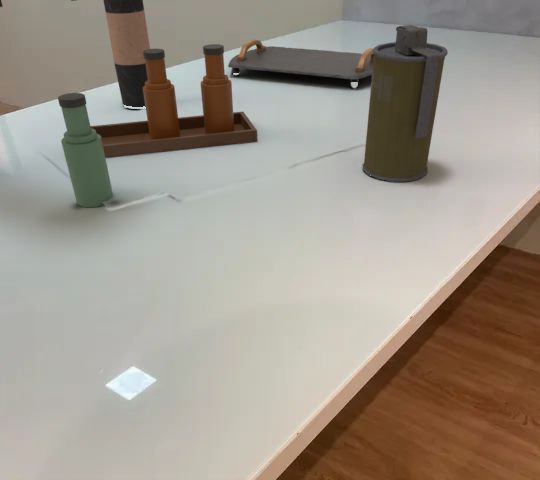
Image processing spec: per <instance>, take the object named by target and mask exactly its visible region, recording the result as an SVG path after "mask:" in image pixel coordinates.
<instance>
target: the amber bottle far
mask: <svg viewBox="0 0 540 480" xmlns="http://www.w3.org/2000/svg"><path fill="white" fill-rule="evenodd" d="M202 53H203V55H204V65H205V75H203V77H202V80H201V81H200V92H201V94H200V95H201V103H202V115H203V116H204V127H205V134H211V133H221V132H231V131H234V117H233V112H234V102H233V86H232V85H233V84H232V80H231V79H229V75H227V74H225V59H224V53H225V46H224V45H223V44H219V43H212V44H205V45H203V46H202Z"/></svg>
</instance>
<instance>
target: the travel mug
mask: <svg viewBox="0 0 540 480" xmlns="http://www.w3.org/2000/svg"><path fill="white" fill-rule="evenodd" d="M102 1H103V6H104V11H105V18H106V23H107V30H108V35H109V40H110V41H109V42H110V47H111V52H112V53H111V54H112V59H113V63H114V64H113V65H114V68H115V73H116V79H117V83H118V87H119V92H120V97H121V98H120V99H121V102H122V105H123V104H124V105H126V106H132V107H143V106H145V100H144V94H143V87H144V86H145V82H146V81H148V77H147V70H146V63H145V59H144V56H143V51H144V50H147V49H151V47H150V39H149V33H148V32H149V31H148V27H147V26H148V25H147V20H146V13H145V6H144V0H102Z"/></svg>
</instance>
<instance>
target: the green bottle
mask: <svg viewBox="0 0 540 480" xmlns="http://www.w3.org/2000/svg"><path fill="white" fill-rule="evenodd" d="M57 100H58V104H59V107H60V108H61V113H62V116H63V119H64V124H65V129H66V131H65V132H63V138H62V139H60V142H61V147H62V150H63V154H64V158H65V162H66V165H67V169H68V173H69V177H70V182H71V185H72V189H73V193H74V197H75V200H76V204H77V205H79V206H80V207H83V208H99V207H102V206H103V207H104V206H105V203H104V202H107V201H109V200H111V198H113V196H114V191H113V187H112V183H111V178H110V173H109V169H108V168H109V167H108V163H107V158H105V154H104V149H103V144H102V140H101V136H100V135H99V134H97V133H96V130H95V129H92V128H91V127H90V126H91V121H90V117H89V114H88V109H87V99H86V95H85V93H81V92H70V93H64V94H61V95H58V97H57Z"/></svg>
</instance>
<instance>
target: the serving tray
mask: <svg viewBox="0 0 540 480" xmlns="http://www.w3.org/2000/svg"><path fill="white" fill-rule="evenodd" d="M254 46H256V48H254V49H251V48H252V47H254ZM373 49H374V47H372V48H367V49H366V50H364V52H362V53H359V52H350V51H349V52H348V51H347V52H345V51H344V52H343V51H335V50H324V49H323V50H322V49H311V48H297V47H284V46H274V45H273V46H272V45H271V46H266V45H263V42H261V40H260V39H257V38H255V39H250V40H248V41H246V42H245V43H244V44H243V45H242V46H241V49H240V52H239V54H236V55H235V56H233V57H232V58H231V59H230V60H229V62H228V64H227V67H228V68H231V70H230V72H231V74H232V73H239V72H240V73H241V70H242V69H243V70H254V71H263V72H274V73H285V74H294V75H302V76H312V77H313V76H314V77H315V76H316V77H324V78H334V79H335V78H336V79H343V80H350V81H351V82H358V81H359V82H360V80H359V79H364V78H367V77H370V76H372V71H373V60H374V54H373ZM234 77H237V76H234Z"/></svg>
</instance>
